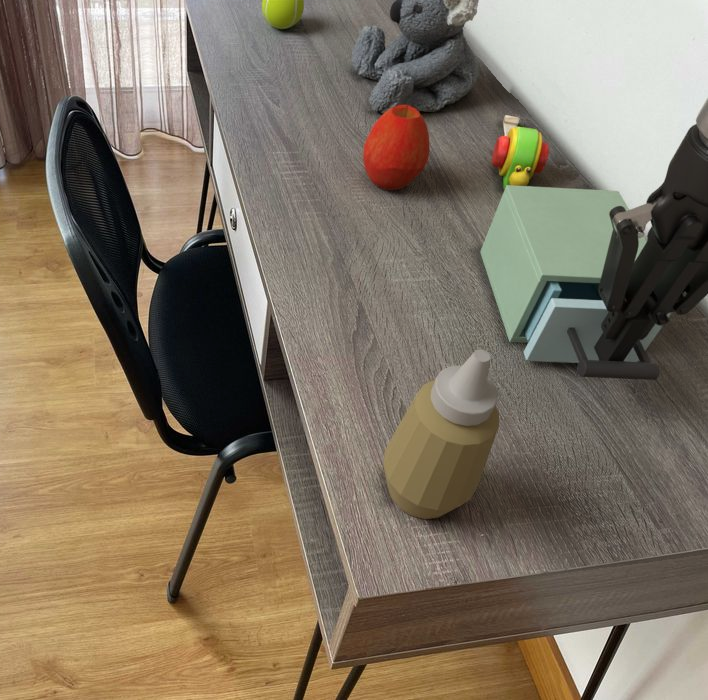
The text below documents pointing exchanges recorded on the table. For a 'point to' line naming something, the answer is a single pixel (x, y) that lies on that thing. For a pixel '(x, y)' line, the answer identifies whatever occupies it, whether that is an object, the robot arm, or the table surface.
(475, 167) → the table surface
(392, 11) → the koala plush
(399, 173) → the red egg-shaped piece
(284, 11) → the tennis ball
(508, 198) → the cabinet
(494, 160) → the toy measuring tape
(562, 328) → the drawer
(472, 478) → the squeeze bottle
